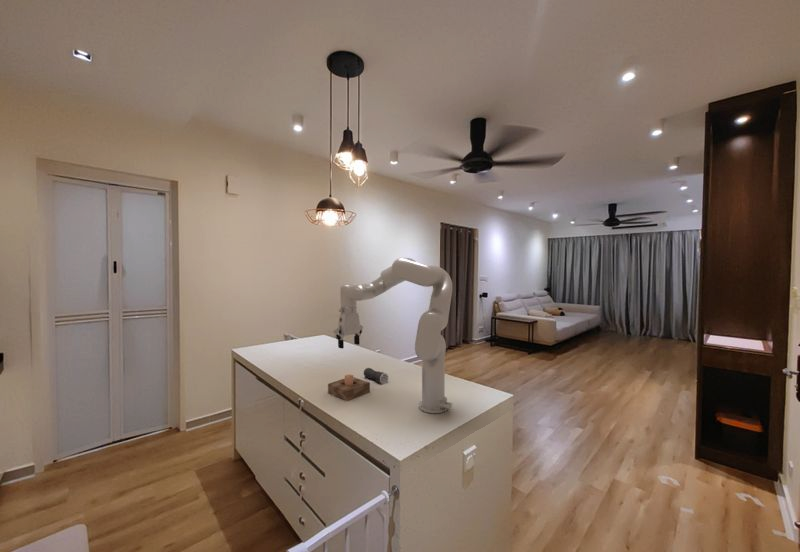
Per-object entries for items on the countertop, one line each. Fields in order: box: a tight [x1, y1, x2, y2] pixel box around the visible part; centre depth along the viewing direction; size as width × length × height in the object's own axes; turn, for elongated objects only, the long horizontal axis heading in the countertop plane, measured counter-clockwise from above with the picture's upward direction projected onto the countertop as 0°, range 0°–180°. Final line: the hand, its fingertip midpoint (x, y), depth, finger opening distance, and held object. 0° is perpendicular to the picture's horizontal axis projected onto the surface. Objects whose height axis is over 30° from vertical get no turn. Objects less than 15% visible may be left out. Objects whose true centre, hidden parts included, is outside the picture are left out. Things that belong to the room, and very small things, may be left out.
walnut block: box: [327, 376, 371, 402], centre depth 149 cm, size 14×14×4 cm
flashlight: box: [363, 367, 389, 385], centre depth 166 cm, size 15×5×5 cm, turn 43°
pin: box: [344, 374, 354, 386], centre depth 149 cm, size 4×4×8 cm
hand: (349, 346), depth 149 cm, fingers open, 9 cm apart
